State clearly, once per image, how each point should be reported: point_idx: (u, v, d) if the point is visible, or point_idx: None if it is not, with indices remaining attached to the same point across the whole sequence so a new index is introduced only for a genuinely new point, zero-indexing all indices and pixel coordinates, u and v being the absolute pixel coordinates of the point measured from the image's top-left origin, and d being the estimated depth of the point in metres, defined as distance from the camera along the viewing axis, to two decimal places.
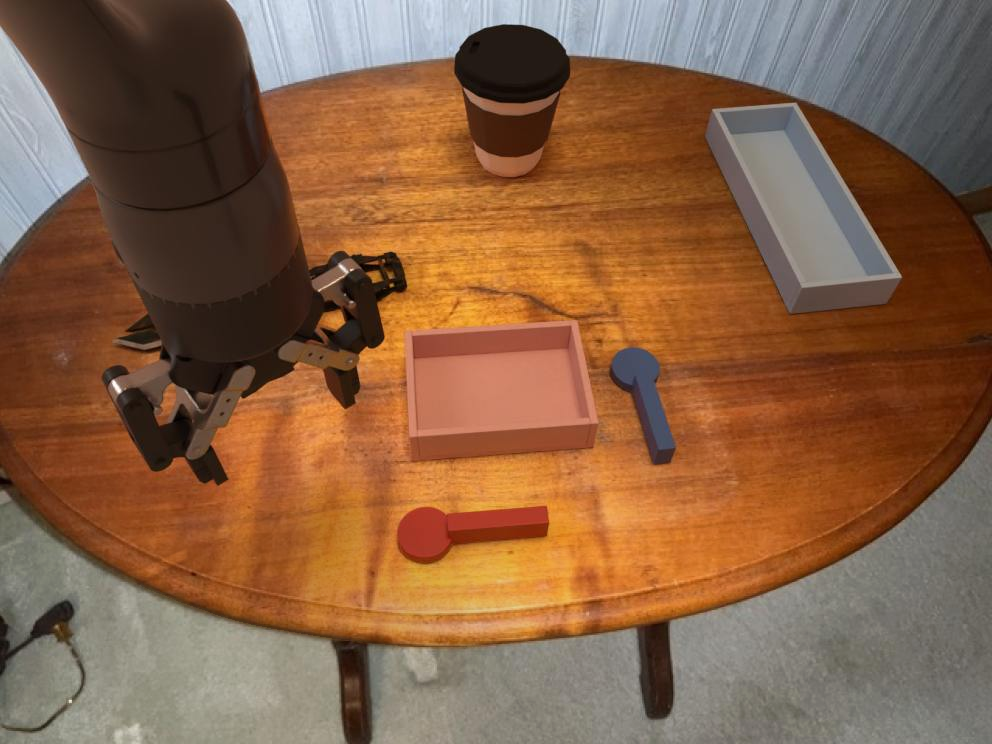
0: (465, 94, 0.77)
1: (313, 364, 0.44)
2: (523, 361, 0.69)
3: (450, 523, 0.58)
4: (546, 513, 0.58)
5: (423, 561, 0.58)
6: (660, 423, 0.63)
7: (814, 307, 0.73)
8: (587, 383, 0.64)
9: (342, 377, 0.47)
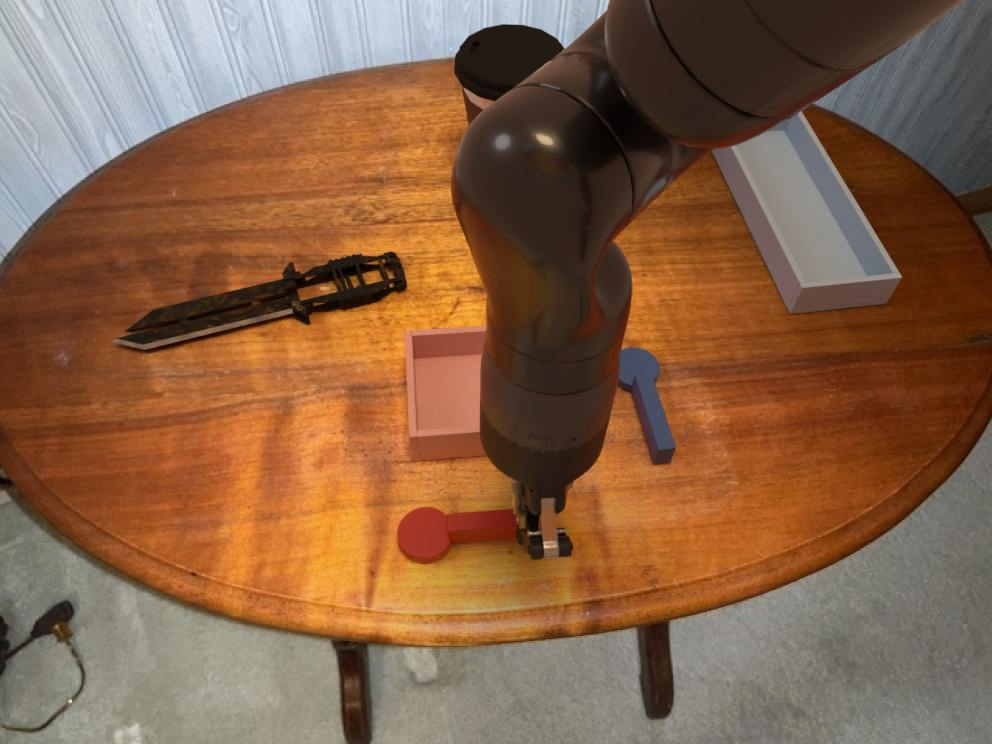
0: (465, 94, 0.77)
1: None
2: None
3: (450, 523, 0.58)
4: None
5: (423, 561, 0.58)
6: (660, 423, 0.63)
7: (814, 307, 0.73)
8: None
9: None
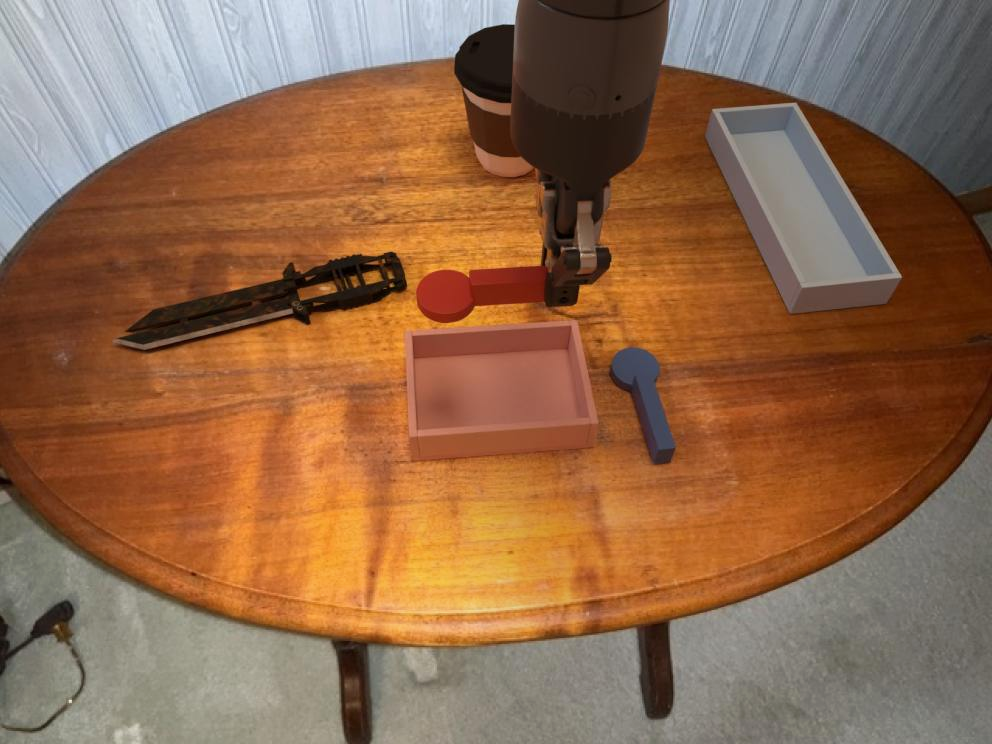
0: (465, 94, 0.77)
1: None
2: (523, 361, 0.69)
3: (473, 278, 0.54)
4: None
5: (444, 320, 0.54)
6: (660, 423, 0.63)
7: (814, 307, 0.73)
8: (587, 383, 0.64)
9: None
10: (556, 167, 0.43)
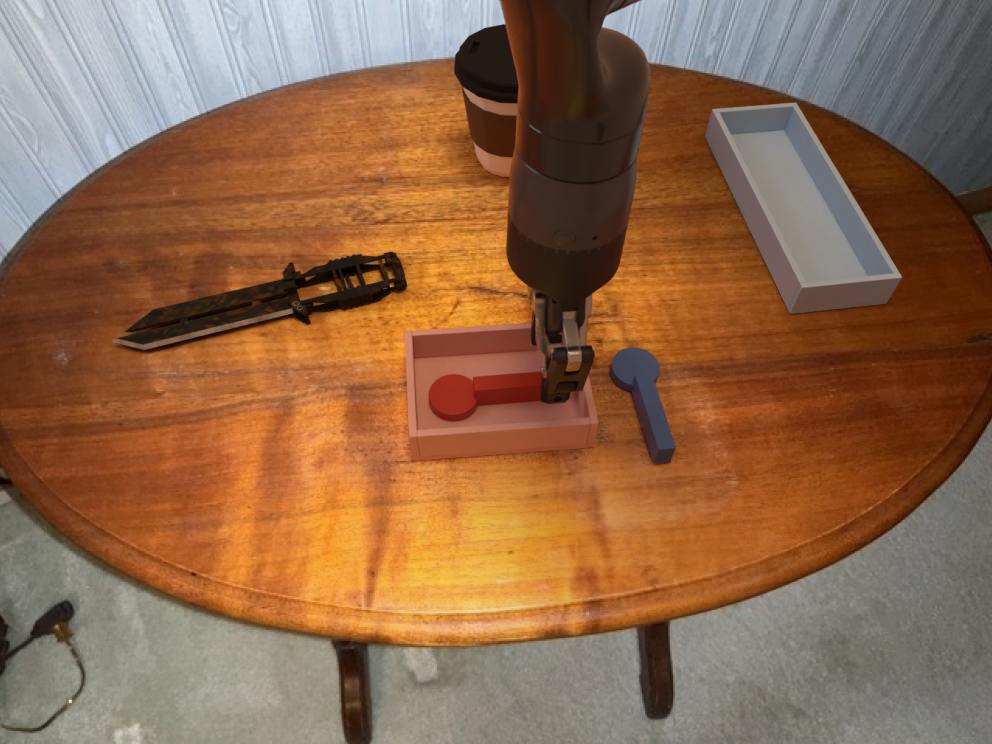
0: (465, 94, 0.77)
1: None
2: (523, 361, 0.69)
3: (476, 384, 0.64)
4: None
5: (452, 419, 0.65)
6: (660, 423, 0.63)
7: (814, 307, 0.73)
8: (587, 383, 0.64)
9: None
10: (544, 287, 0.51)
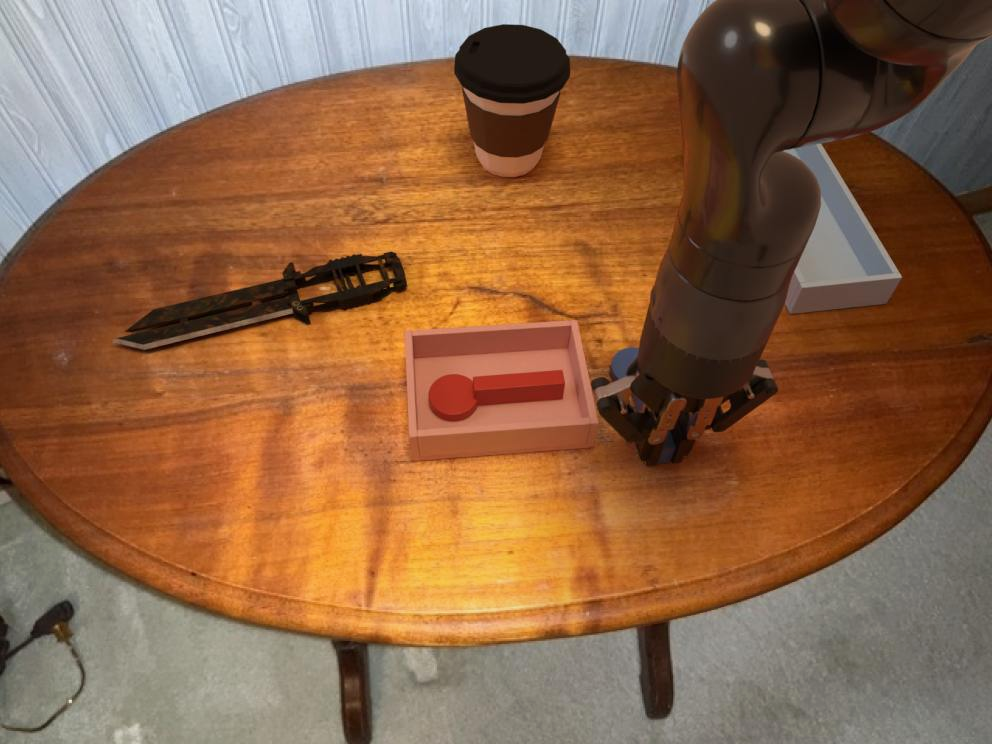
0: (465, 94, 0.77)
1: (698, 418, 0.57)
2: (523, 361, 0.69)
3: (476, 384, 0.64)
4: (562, 375, 0.65)
5: (452, 419, 0.65)
6: None
7: (814, 307, 0.73)
8: (587, 383, 0.64)
9: (683, 442, 0.61)
10: None
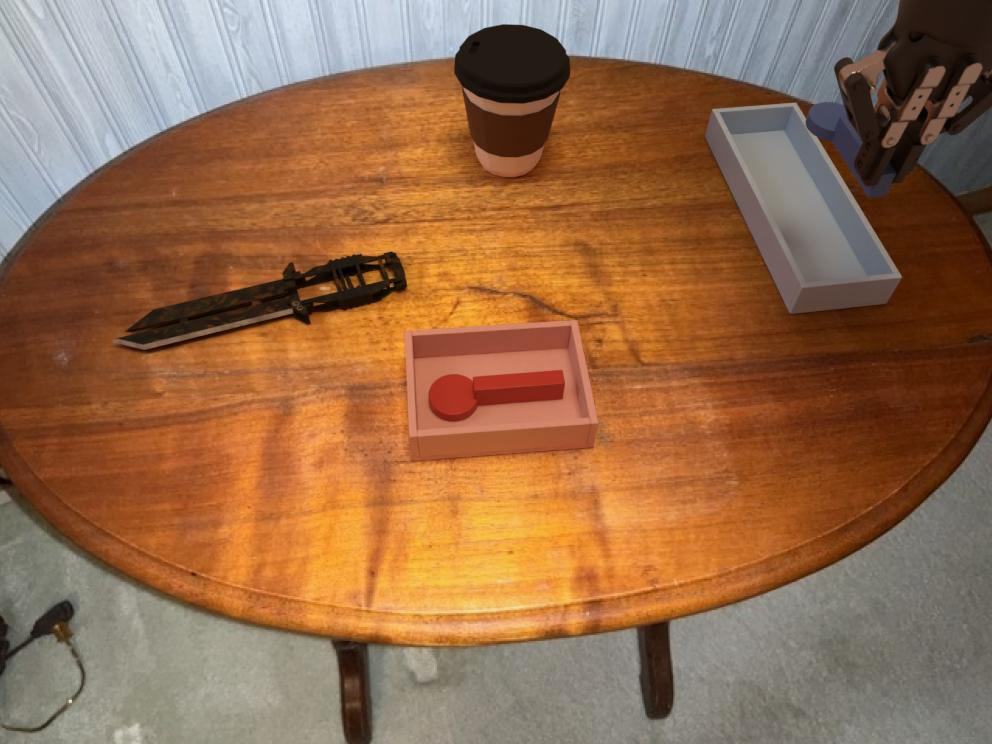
0: (465, 94, 0.77)
1: (945, 103, 0.54)
2: (523, 361, 0.69)
3: (476, 384, 0.64)
4: (562, 375, 0.65)
5: (452, 419, 0.65)
6: None
7: (814, 307, 0.73)
8: (587, 383, 0.64)
9: (913, 149, 0.58)
10: None
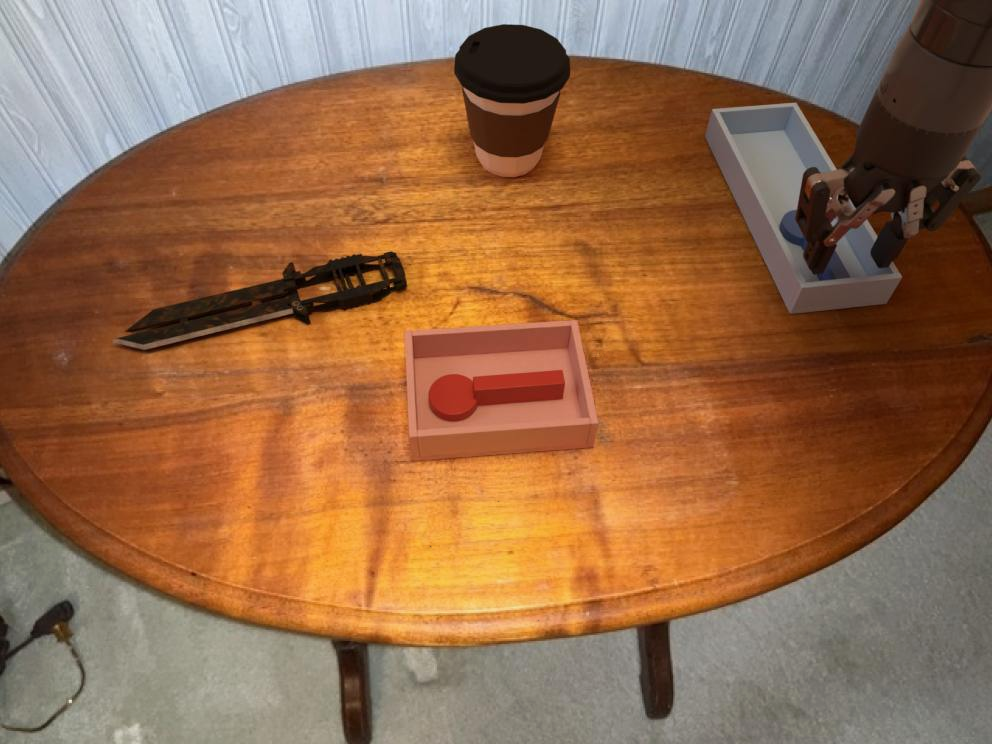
0: (465, 94, 0.77)
1: (908, 214, 0.65)
2: (523, 361, 0.69)
3: (476, 384, 0.64)
4: (562, 375, 0.65)
5: (452, 419, 0.65)
6: (836, 264, 0.73)
7: (814, 307, 0.73)
8: (587, 383, 0.64)
9: (898, 242, 0.68)
10: (859, 129, 0.61)
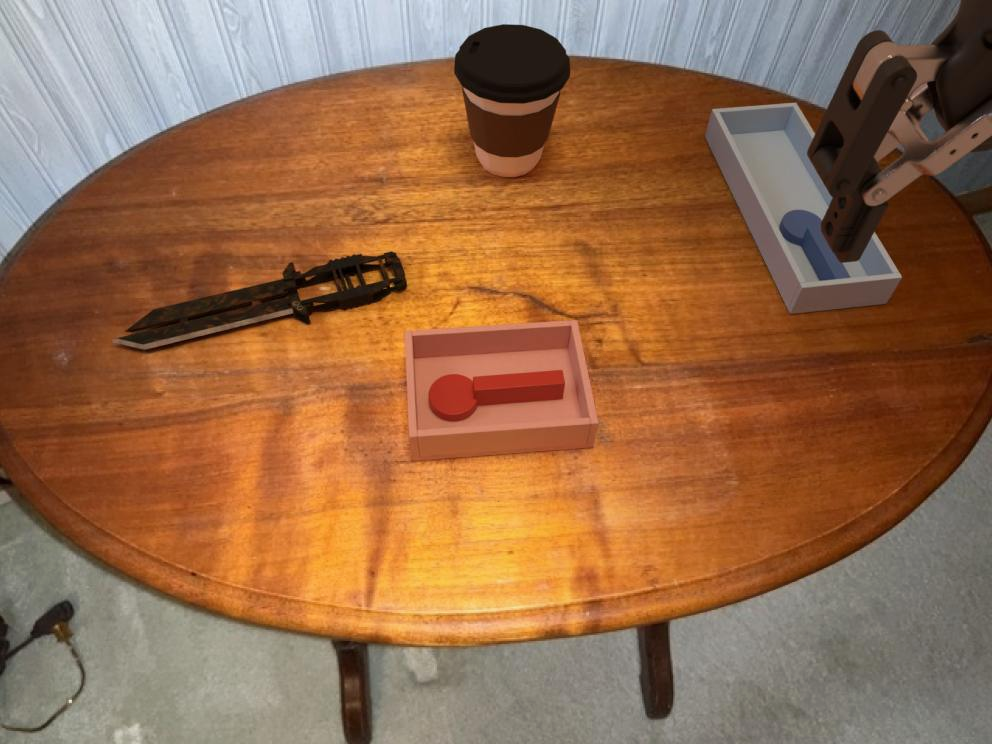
0: (465, 94, 0.77)
1: None
2: (523, 361, 0.69)
3: (476, 384, 0.64)
4: (562, 375, 0.65)
5: (452, 419, 0.65)
6: (836, 264, 0.73)
7: (814, 307, 0.73)
8: (587, 383, 0.64)
9: None
10: None
